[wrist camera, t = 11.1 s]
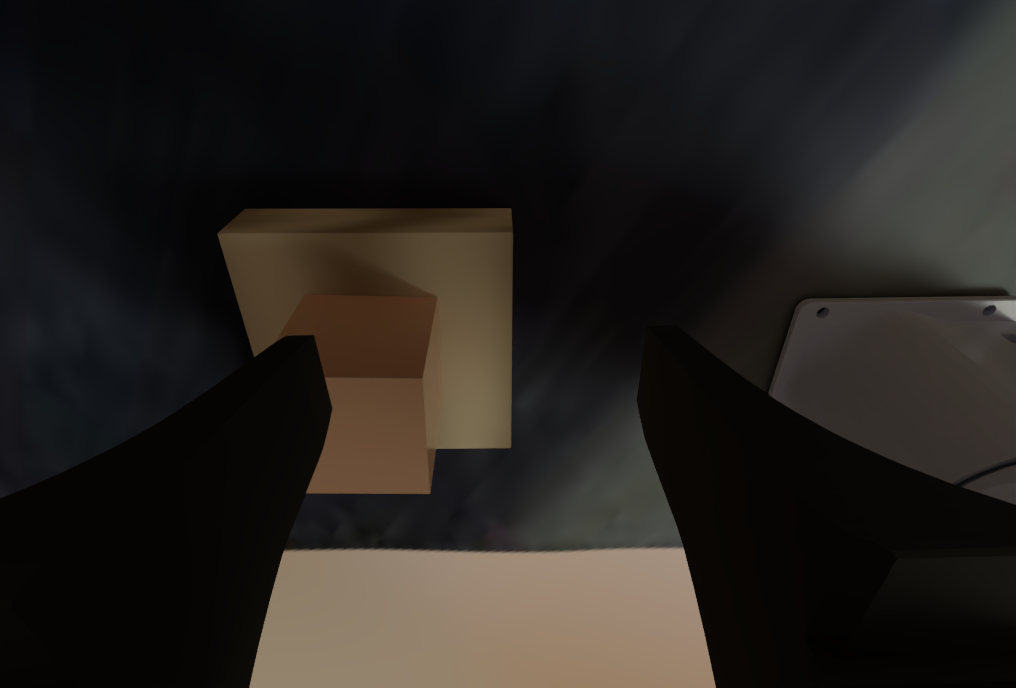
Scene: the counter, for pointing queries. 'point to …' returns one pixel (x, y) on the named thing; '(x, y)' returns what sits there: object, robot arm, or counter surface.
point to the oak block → (394, 290)
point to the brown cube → (376, 390)
